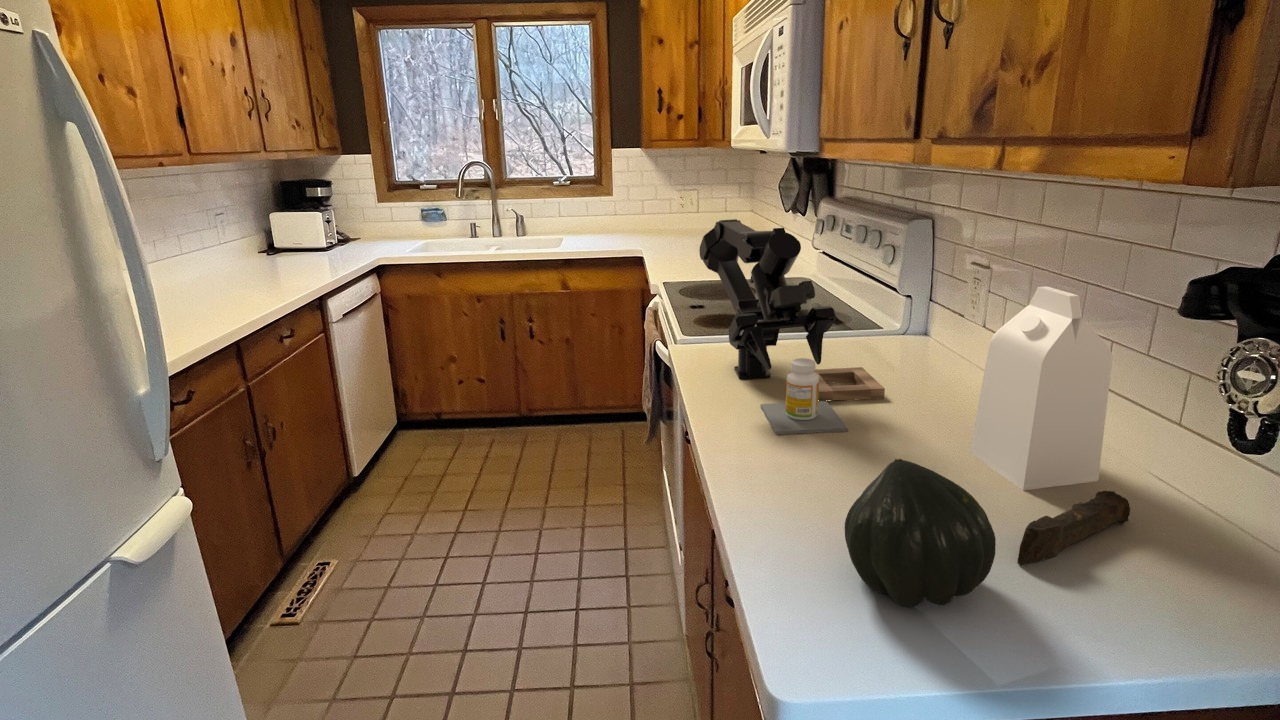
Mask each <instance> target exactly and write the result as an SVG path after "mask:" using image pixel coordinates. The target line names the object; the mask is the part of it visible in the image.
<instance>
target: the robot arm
mask: <svg viewBox="0 0 1280 720" xmlns="http://www.w3.org/2000/svg"><path fill="white" fill-rule="evenodd" d="M801 244H802V243H801V242H800V241H799V240H798V238H797V237H795V236H794V235H793V234H791V233H789V232H786V229H785V227H774V228H773V229H772V230H755V229H753V228H751V227H750V226H748V225H746V224H744V223H743V222H741V220H740V219H739V220H738V219H737V218H735V219H721V220H719V221H716V222H715V225H714V226H713V228H712V229H710V230H709V231H708V232H707V233H705V234H704V235H703V237H702V240H701V242H700V245H699V257H700V260H702V261H703V263H704V265H705V266H706V268H707V269H708V270H709V271H712V272H714V273H715V274H717V275H718V277H719V278H720V279H719V280H720V281H721V283H722V286H723V288H724V290H725V291H726V294H727V296H728V298H729V301H730V303H731V305H732V306H733V309H734V311H735V316H734V317H733V319H732V321H731V324H730V325H729V327H728V341H729V345H731V346H732V347H733V348H734V349H735V350H737V351H738V352H737V353H738V355H737V356H738V357H737V359H738V361H737V362H738V364H737V365H736V366H734V367H733V369H734V371H735V373H736V376H737V377H738V379H743V380H744V379H760V378H761V379H763V378H771V377H772V375H771V372H770V370H771V369H772V363H771V358H770V355H769V352H768V350H767V347H771V346H772V347H775V346H777V344H778V339H779V333H780V330H781V329H791V328H801V327H802V328H804V331H805V332H806V333H807V335H805V338H806V341H807V344H808V346H809V350H810V352H811V354H812V357H813V360H814V361H815V364H816V365H818V366H819V365H820V364H821V363H822V355H823V340H824V339H823V338H824V334H825V333H827V332H828V331H829V330H830V328H831V327H832V326H833V324H834V323H835V322H836V320H837V319H838V316H837V313H836V309H835V308H834V307H832V306H830V305H825V306H814V307H811V309H810V310H809V311H808V313H807V315H797V313H800V312H801V311H802V307H801V305H805V304H807V303H808V302H807V301H810V300H813V299H815V296H816V290H815V285H814V284H813V282H812V280H802V281H801V282H799V283H798V284H796V285H788V283H787V279H786V277H785V276H786V275H787V274H788V273H789V272H790V271H791V269H792V267H793V265H794V263H795V262H796V260H797V258H798V256H799V254H800V253H801V249H802V246H801ZM739 258H740V260H741V261H742V262H743V263H744V264H755V265H754V266H753V267H752V269H751V271H750V277H749V278H750V280H749V281H748V280H747V278H746V276H745V273H744V272H743V270H742V268H741V266H740V264H739V262H738V261H739ZM749 282H750V284H753V285H754V288H755V292H756V296H755V293H754V291H753V290H752V288H751V285H750V284H749ZM756 297H757V298H756Z"/></svg>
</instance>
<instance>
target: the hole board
mask: <svg viewBox="0 0 1280 720" xmlns="http://www.w3.org/2000/svg"><path fill="white" fill-rule="evenodd" d="M814 372H815V373H816V374H817V375H818V377H819V392H818V400H819V401H826V400H850V401H856V400H855V399H869V400H883V398H884V399H885V391H886V390H885V389H886V388H885V387H884V386H883V385H881V383H880V382H879V381H878V380H876V379H875V378H874V377H873V376H872V375H871V374H870V373H869V372H868V371H867V370H866V369H865V368H863V366H860V367H840V368H822V369H819V368H818V369H816V368H815V371H814ZM826 382H835V383H850V382H851V383H854V384H851V385H850V384H849V385H848V384H847V385H831V386H830V385H829V383H826ZM880 398H881V399H880Z"/></svg>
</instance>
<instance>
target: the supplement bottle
mask: <svg viewBox="0 0 1280 720" xmlns="http://www.w3.org/2000/svg"><path fill="white" fill-rule="evenodd" d="M790 370H791V371H790V372H788V374H787V375H786V380H785V381H786V383H785V385H786V386H785V389H786V390H785V403H786V415H787V416H788V417H790V418H792V419H796V420H811V419H813V418H815V417H816V416H817V414H818V392H819V377H818V375H817V374H816V373H815V372H814V371H815V370H816V362H815V360H814V359H811V358H805V357H803V358H795V359H792V360H791V363H790Z"/></svg>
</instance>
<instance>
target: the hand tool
mask: <svg viewBox="0 0 1280 720" xmlns="http://www.w3.org/2000/svg"><path fill="white" fill-rule="evenodd" d="M1071 506H1072V507H1071V509H1068V510H1065V512H1062V513H1060V514H1058V515H1056V516H1054V517H1051V516H1049V515H1044V516H1041V517H1039V518H1038V519H1037V520H1033V521H1032V522H1031V521H1030V522H1029V523H1028V525H1026V527H1025V530H1024V533H1023V536H1022V539H1021V542H1020V544H1019V550H1018V551H1019V552H1018V555H1017V556H1018V557H1017V561H1016V562H1017V564H1018V565H1029V564H1034V563H1039V562H1041V561H1042V562H1043V561H1044V560H1047V559H1051V558H1055V557H1057V556H1058V554H1059V551H1060V550H1061V549H1063V548H1066V547H1067V546H1069V545H1072V544H1074V543H1076V542H1080V541H1082V540H1084V539H1085V538H1087V537H1088V536H1090V535H1091V534H1094V533H1097V532H1099V531H1100V530H1105V528H1107V527H1109V526H1110V525H1112V524H1114V523H1116V524H1118V525H1119V524H1120V525H1124V524H1125V523H1126V522H1128V521H1129V517H1130V514H1131V505H1130V502H1129V500H1128V499H1127V498H1126V497H1124V496H1123V495H1121V494H1118V493H1117V492H1116V491H1112V490H1099V491H1097V492H1096V494H1095V496H1094V497H1093V498H1091V499H1089V500H1087V501H1085V502H1078V503H1074V504H1073V505H1071Z"/></svg>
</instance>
